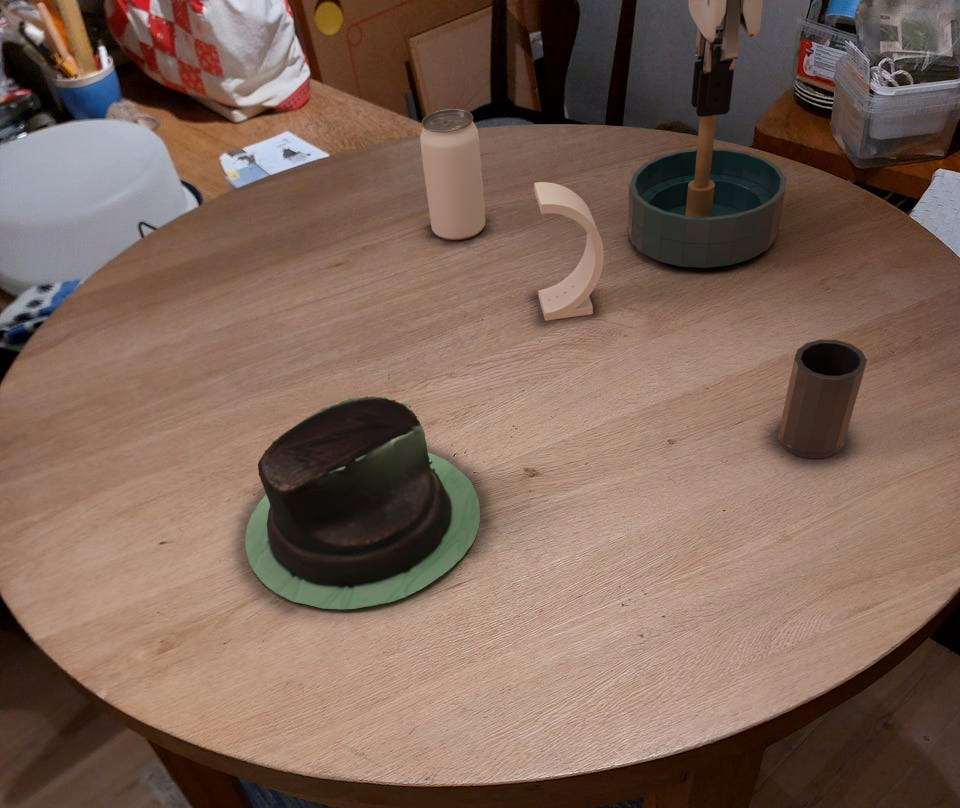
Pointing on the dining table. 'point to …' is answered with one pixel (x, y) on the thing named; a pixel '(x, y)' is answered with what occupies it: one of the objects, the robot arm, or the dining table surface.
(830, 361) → the utensil pot
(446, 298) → the dining table surface
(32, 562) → the dining table surface
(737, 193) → the bowl
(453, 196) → the can
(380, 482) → the dark brown green hat
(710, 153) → the stick
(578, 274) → the headphone stand
